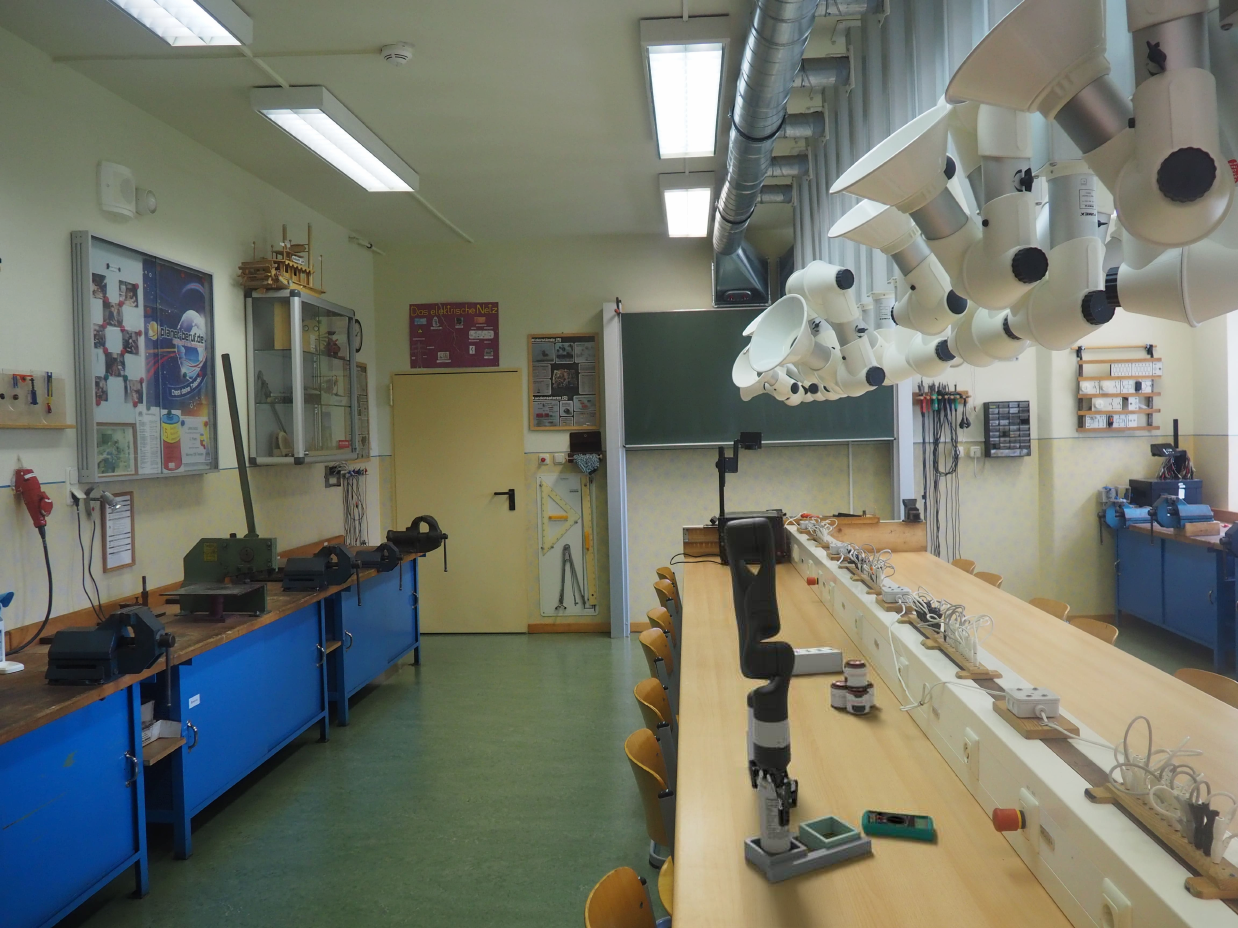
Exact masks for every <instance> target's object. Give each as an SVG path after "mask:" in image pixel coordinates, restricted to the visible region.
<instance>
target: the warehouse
mask: <svg viewBox="0 0 1238 928" xmlns="http://www.w3.org/2000/svg"><path fill="white" fill-rule="evenodd" d="M793 650H794V653H795V665H794V669H793V673H792V676H793V675H795V676H796V675H806V674H807V675H809V674H823V673H835V672H844V663H843V662H844V661H843V651H841V650H839V649H836V648H832V647H830V646H823V647H813V648H812V647H811V648H810V647H809V648H796V649H795V648H793Z"/></svg>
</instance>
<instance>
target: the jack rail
mask: <svg viewBox="0 0 1238 928" xmlns="http://www.w3.org/2000/svg"><path fill="white" fill-rule="evenodd" d="M831 833H832V834H834V835H836V836H833V837H831V838H828V839H827V838H825V837H824V836H825V835H828V834H831ZM800 842H801V843H800ZM802 843H803V844H804V845H805V846H804V845H803V844H802ZM743 845H744V847H743V849H744V857H745V858H746V859H747V860H748V861H750V862H751V863H752V864H754V865H755V866H756V867H757V868H758V869H759V870H761V871H762V872H764V874H766V879H767V880H768V881H769V882H770V883H772V884H776V883H778V882H779V883H780V882H781V881H784V880H788V879H791V878H794V877H796V876H800V875H803V874H806V873H809V872H812V871H816V870H818V869H821V868H825V867H827V866H831V865H834V864H836V863H840V862H843V861H847V860H849V859H852V858H855V857H858V856H861V855H865V854H867V853H871V852H872V851H873V850H872V849H873V848H872V847H873V846H872V839H871V838H869V837H867V835H862V832H861V831H860V830H859V829H857V828H855V827H854V826H853V825H850V824H849V823H847V822H846V821H844V820H843V819H841V818H839V817H837V816H836V815H835V814H833V813H832V814H829V815H825V816H821V817H818V818H814V819H811V820H808V821H805V822H801V823H798V834H797V833H796V832H795V831H790V849H789V850H788V852H786V853H782V854H779V855H776V856H771V855H768V854H766V853H765V852H764V849H763V848H762V847H761V839H760V835H756V836H753V837H749V838H746V839H744V840H743ZM806 846H807V847H808V848H810V849H811V850H813V851H812V852H809V853H808V848H807V847H806Z"/></svg>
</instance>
